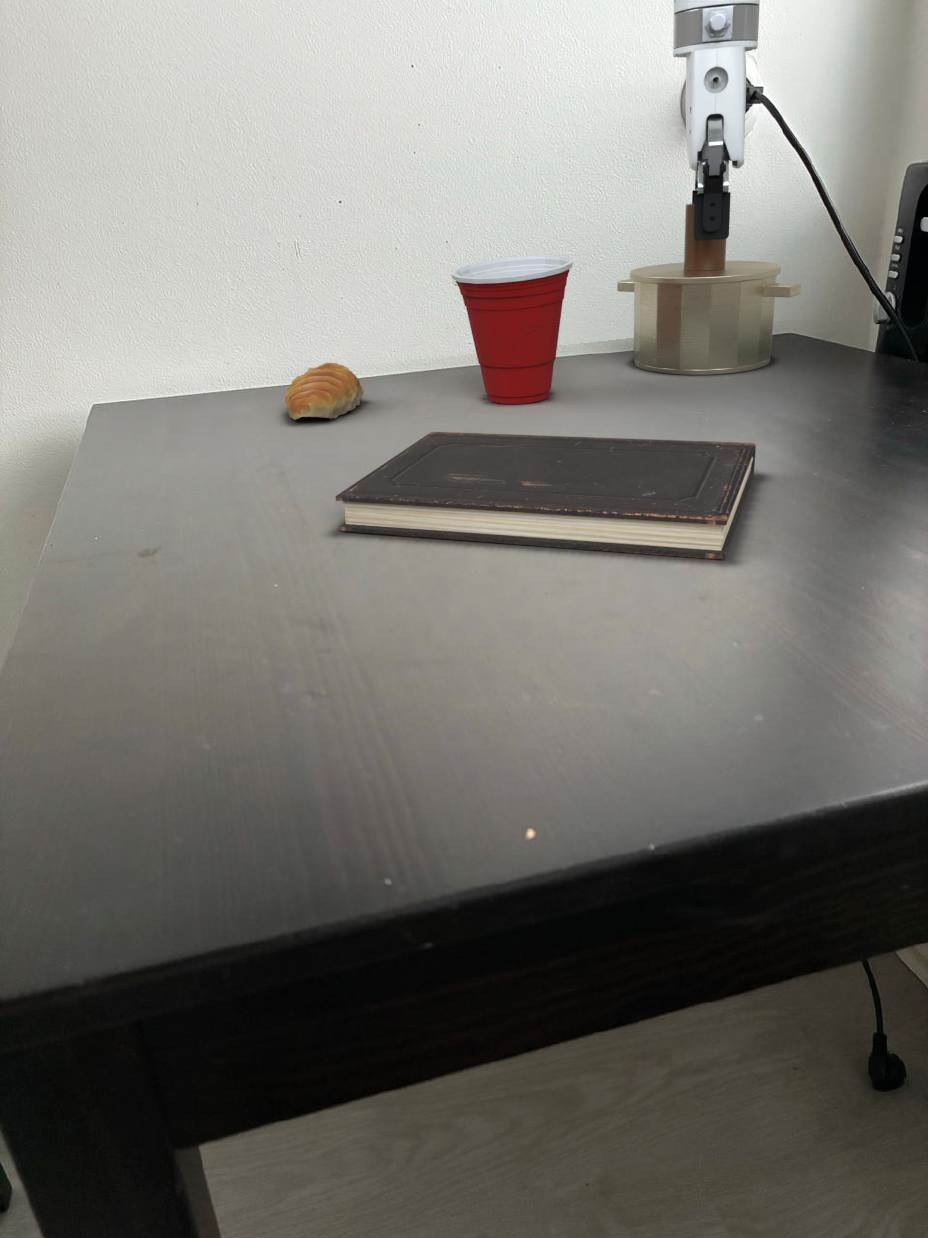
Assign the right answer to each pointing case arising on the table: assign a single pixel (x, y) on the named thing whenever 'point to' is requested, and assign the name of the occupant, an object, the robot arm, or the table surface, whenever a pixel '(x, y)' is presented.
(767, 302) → the pot
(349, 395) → the pastry
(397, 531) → the hardcover book
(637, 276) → the lid
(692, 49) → the robot arm
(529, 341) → the plastic cup
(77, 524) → the table surface
